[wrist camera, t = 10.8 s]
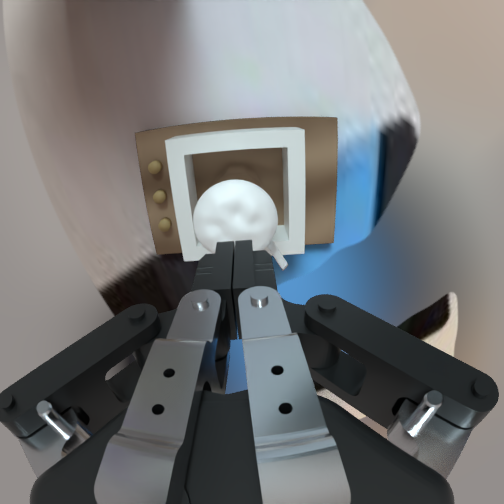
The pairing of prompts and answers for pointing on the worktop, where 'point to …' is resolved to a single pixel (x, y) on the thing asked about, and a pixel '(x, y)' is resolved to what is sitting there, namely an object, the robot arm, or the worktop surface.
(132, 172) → the worktop surface
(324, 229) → the base board
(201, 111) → the worktop surface
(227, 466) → the robot arm
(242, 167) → the milkshake
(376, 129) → the worktop surface
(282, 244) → the socket
